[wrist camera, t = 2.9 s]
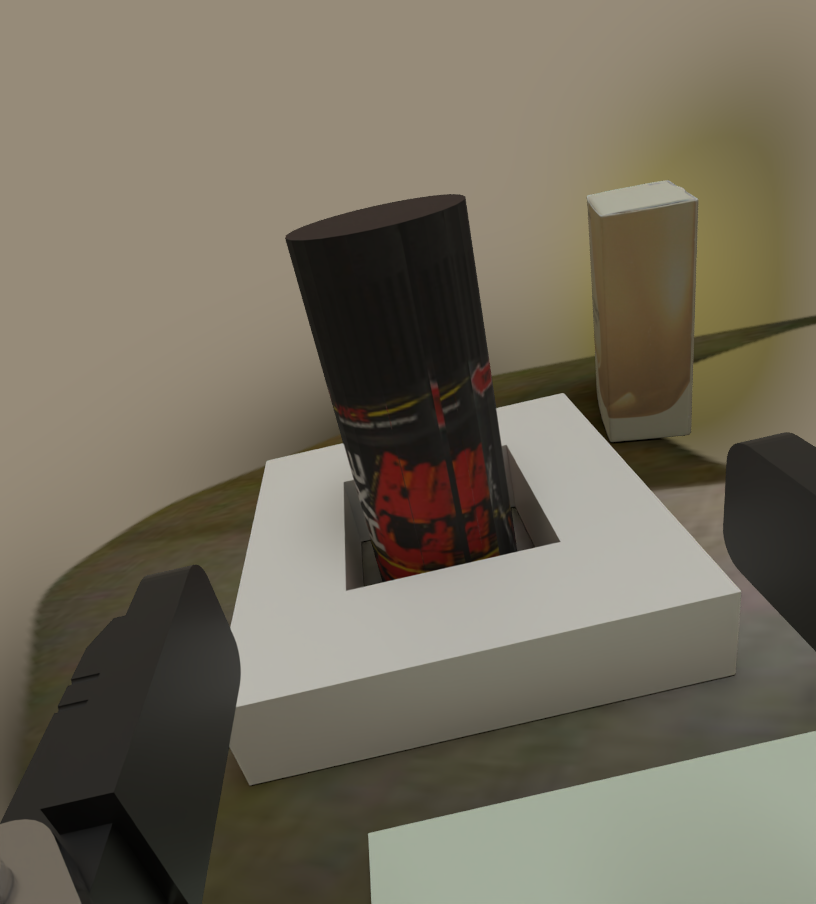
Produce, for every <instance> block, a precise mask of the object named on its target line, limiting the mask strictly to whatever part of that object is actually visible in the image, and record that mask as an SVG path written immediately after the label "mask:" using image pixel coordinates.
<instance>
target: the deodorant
mask: <svg viewBox="0 0 816 904" xmlns="http://www.w3.org/2000/svg"><path fill="white" fill-rule="evenodd" d="M285 239H286V243H287V246H288V250H289V253H290V257H291V260H292V263H293V267H294V271H295V274H296V277H297V281H298V285H299V288H300V292H301V295H302V299H303V303H304V306H305V310H306V313H307V317H308V320H309V324H310V327H311V331H312V334H313V338H314V341H315V345H316V348H317V352H318V355H319V359H320V362H321V366H322V369H323V373H324V377H325V380H326V384H327V387H328V390H329V394H330V398H331V401H332V405H333V408H334V412H335V415H336V419H337V423H338V426H339V429H340V433H341V437H342V440H343V444H344V447H345V451H346V454H347V458H348V461H349V465H350V468H351V472H352V475H353V479H354V483H355V486H356V490H357V493H358V497H359V500H360V504H361V507H362V511H363V514H364V518H365V521H366V525H367V528H368V532H369V535H370V539H371V542H372V546H373V550H374V553H375V557H376V560H377V564H378V567H379V571H380V574H381V578H382V581H383V582H387V581H392V580H396V579H400V578H405V577H409V576H413V575H418V574H422V573H427V572H431V571H435V570H440V569H444V568H448V567H453V566H457V565H462V564H466V563H470V562H475V561H479V560H483V559H488V558H492V557H496V556H501V555H505V554H510V553H514V552H517V547H516V540H515V533H514V527H513V520H512V513H511V506H510V499H509V492H508V486H507V479H506V472H505V465H504V458H503V451H502V445H501V438H500V431H499V424H498V417H497V411H496V404H495V397H494V390H493V383H492V376H491V370H490V363H489V356H488V349H487V343H486V336H485V329H484V322H483V315H482V308H481V302H480V295H479V288H478V281H477V275H476V267H475V261H474V254H473V247H472V240H471V233H470V226H469V220H468V213H467V206H466V199H465V196H463V195H455V194H453V195H451V194H449V195H437V196H428V197H420V198H414V199H408V200H402V201H397V202H392V203H387V204H382V205H378V206H373V207H369V208H365V209H360V210H356V211H352V212H349V213H345V214H341V215H338V216H334V217H331V218H327V219H324V220H321V221H318V222H315V223H312V224H309V225H306V226H303V227H301V228H299V229H297V230H294V231H292V232H291V233H289V234H288V235H286V238H285Z"/></svg>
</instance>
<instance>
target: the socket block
mask: <svg viewBox="0 0 816 904" xmlns="http://www.w3.org/2000/svg"><path fill="white" fill-rule="evenodd" d="M496 411H497V417H498V424H499V431H500V438H501V445H502V451H503V458H504V465H505V472H506V479H507V486H508V492H509V499H510V506H511V507H516V509H517V511H518V513H519V515H520V517H521V519H522V521H523V523H524V525H525V527H526V529H527V532H528V534H529V536H530V538H531V540H532V542H533V544H534V546H535V548H531V549H527V550H523V551H518V552H514V553H510V554H505V555H501V556H496V557H492V558H488V559H483V560H479V561H475V562H470V563H466V564H462V565H457V566H453V567H448V568H444V569H440V570H435V571H431V572H427V573H422V574H418V575H413V576H409V577H405V578H400V579H396V580H392V581H387V582H383V583H378V584H374V585H370V586H365V587H364V582H363V566H362V549H361V542H362V541H367V540H371V539H370V535H369V532H368V528H367V525H366V521H365V518H364V514H363V511H362V507H361V504H360V500H359V497H358V493H357V490H356V486H355V483H354V479H353V475H352V472H351V468H350V465H349V461H348V458H347V454H346V451H345V447H344V444H338V445H334V446H330V447H325V448H321V449H317V450H312V451H308V452H303V453H299V454H295V455H290V456H286V457H282V458H277V459H273V460H268V461H267V462H266V467H265V471H264V476H263V480H262V485H261V490H260V494H259V499H258V503H257V508H256V513H255V517H254V522H253V526H252V531H251V536H250V540H249V545H248V549H247V554H246V559H245V563H244V568H243V572H242V577H241V582H240V586H239V591H238V595H237V600H236V605H235V609H234V614H233V618H232V623H231V628H230V629H231V631H232V633H233V636H234V638H235V641H236V644H237V647H238V651H239V657H240V665H241V680H240V687H239V692H238V698H237V704H236V710H235V715H234V721H233V727H232V732H231V738H230V744H229V747H230V749H231V750H232V752H233V754H234V756H235V758H236V760H237V762H238V764H239V766H240V768H241V770H242V772H243V774H244V776H245V778H246V779H247V781H248V783H249V785H254V784H259V783H263V782H267V781H272V780H276V779H280V778H285V777H289V776H294V775H298V774H302V773H307V772H311V771H315V770H320V769H324V768H328V767H333V766H337V765H342V764H346V763H350V762H355V761H359V760H363V759H368V758H372V757H377V756H381V755H385V754H390V753H394V752H398V751H403V750H407V749H412V748H416V747H420V746H425V745H429V744H433V743H438V742H442V741H446V740H451V739H455V738H460V737H464V736H468V735H473V734H477V733H481V732H486V731H490V730H495V729H499V728H503V727H508V726H512V725H516V724H521V723H525V722H530V721H534V720H538V719H543V718H547V717H551V716H556V715H560V714H564V713H569V712H573V711H578V710H582V709H586V708H591V707H595V706H599V705H604V704H608V703H613V702H617V701H621V700H626V699H630V698H634V697H639V696H643V695H647V694H652V693H656V692H661V691H665V690H669V689H674V688H678V687H682V686H687V685H691V684H696V683H700V682H704V681H709V680H713V679H717V678H722V677H726V676H731V675H735V674H736V661H737V647H738V633H739V619H740V605H741V591H740V589H739V588H738V587H737V586H736V585H735V584H734V583H733V582H732V580H731V579H730V578H729V577H728V576H727V575H726V574H725V573H724V572H723V570H722V569H721V568H720V567H719V566H718V565H717V564H716V563H715V562H714V560H713V559H712V558H711V557H710V556H709V555H708V554H707V553H706V551H705V550H704V549H703V548H702V547H701V546H700V545H699V544H698V543H697V541H696V540H695V539H694V538H693V537H692V536H691V535H690V534H689V533H688V531H687V530H686V529H685V528H684V527H683V526H682V525H681V524H680V522H679V521H678V520H677V519H676V518H675V517H674V516H673V515H672V514H671V512H670V511H669V510H668V509H667V508H666V507H665V506H664V505H663V504H662V502H661V501H660V500H659V499H658V498H657V497H656V496H655V495H654V494H653V492H652V491H651V490H650V489H649V488H648V487H647V486H646V485H645V483H644V482H643V481H642V480H641V479H640V478H639V477H638V476H637V475H636V473H635V472H634V471H633V470H632V469H631V468H630V467H629V466H628V465H627V463H626V462H625V461H624V460H623V459H622V458H621V457H620V456H619V454H618V453H617V452H616V451H615V450H614V449H613V448H612V447H611V446H610V444H609V443H608V442H607V441H606V440H605V439H604V438H603V437H602V436H601V434H600V433H599V432H598V431H597V430H596V429H595V428H594V427H593V425H592V424H591V423H590V422H589V421H588V420H587V419H586V418H585V417H584V415H583V414H582V413H581V412H580V411H579V410H578V409H577V408H576V407H575V405H574V404H573V403H572V402H571V401H570V400H569V399H568V398H567V396H566V395H565V394H564V393H561V394H557V395H553V396H548V397H544V398H540V399H535V400H531V401H526V402H522V403H518V404H513V405H509V406H505V407H500V408H496Z"/></svg>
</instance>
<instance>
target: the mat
mask: <svg viewBox="0 0 816 904" xmlns="http://www.w3.org/2000/svg"><path fill="white" fill-rule="evenodd" d="M368 837H369V858H370V880H371V902H372V904H816V731H814V732H809V733H805V734H800V735H796V736H792V737H787V738H783V739H779V740H774V741H770V742H765V743H761V744H757V745H752V746H748V747H744V748H739V749H735V750H730V751H726V752H722V753H717V754H713V755H709V756H704V757H700V758H696V759H691V760H687V761H682V762H678V763H674V764H669V765H665V766H661V767H656V768H652V769H647V770H643V771H639V772H634V773H630V774H626V775H621V776H617V777H613V778H608V779H604V780H599V781H595V782H591V783H586V784H582V785H578V786H573V787H569V788H564V789H560V790H556V791H551V792H547V793H543V794H538V795H534V796H529V797H525V798H521V799H516V800H512V801H508V802H503V803H499V804H495V805H490V806H486V807H481V808H477V809H473V810H468V811H464V812H460V813H455V814H451V815H446V816H442V817H438V818H433V819H429V820H425V821H420V822H416V823H412V824H407V825H403V826H398V827H394V828H390V829H385V830H381V831H377V832H372V833H368Z"/></svg>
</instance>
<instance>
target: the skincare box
mask: <svg viewBox="0 0 816 904" xmlns="http://www.w3.org/2000/svg"><path fill="white" fill-rule="evenodd" d="M587 206H588V220H589V221H588V222H589V237H590V238H589V239H590V259H591V278H592V299H593V318H594V338H595V360H596V383H597V397H598V403H599V408H600V412H601V416H602V419H603V423H604V426H605V429H606V432H607V434H608V437H609V440H610V442H619V441H630V440H641V439H652V438H662V437H673V436H685V435H689V434H690V433H691V415H692V413H691V412H692V380H693V349H694V319H695V288H696V254H697V224H698V199H697V198H695V197H694V196H692V195H691V194H689V193H687V192H686V191H685V190H684V189H683V188H682V187H679V186H676V185H675V184H673V183H672V182H670V181H660V182H653V183H648V184H642V185H638V186H633V187H627V188H621V189H616V190H611V191H606V192H602V193H598V194H594V195H588V196H587Z"/></svg>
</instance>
